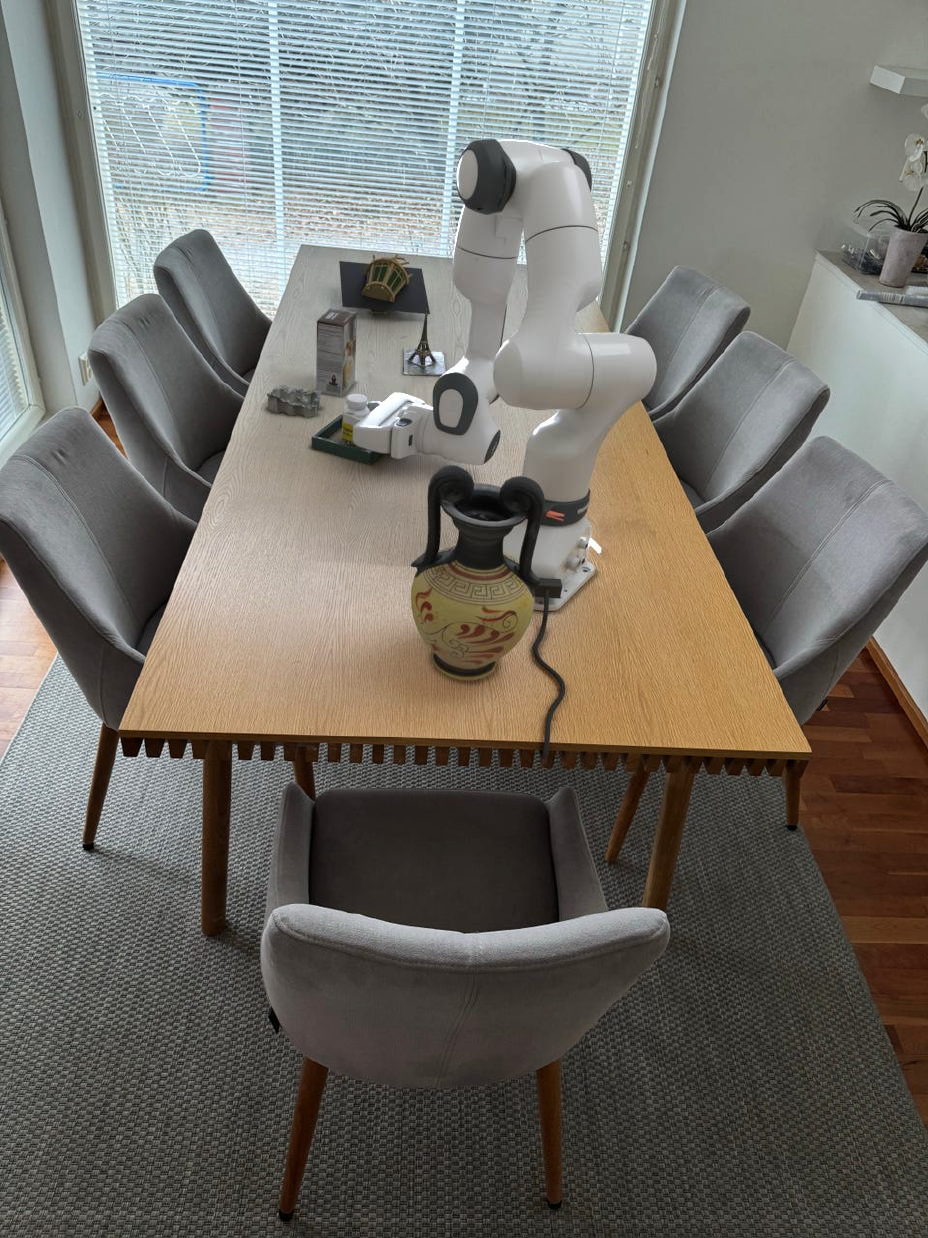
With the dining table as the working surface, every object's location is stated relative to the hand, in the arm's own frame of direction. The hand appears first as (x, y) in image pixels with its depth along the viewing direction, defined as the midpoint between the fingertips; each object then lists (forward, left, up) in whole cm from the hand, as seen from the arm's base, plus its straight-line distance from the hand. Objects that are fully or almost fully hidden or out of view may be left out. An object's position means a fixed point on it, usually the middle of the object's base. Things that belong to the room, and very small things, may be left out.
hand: (352, 410), depth 183 cm
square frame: (0, -1, -7) cm, 7 cm away
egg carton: (+8, +17, -7) cm, 20 cm away
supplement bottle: (0, -1, -7) cm, 7 cm away
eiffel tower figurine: (+48, +4, -7) cm, 49 cm away
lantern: (+82, +31, -7) cm, 88 cm away
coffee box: (+23, +15, -7) cm, 29 cm away
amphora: (-54, -45, -7) cm, 70 cm away
